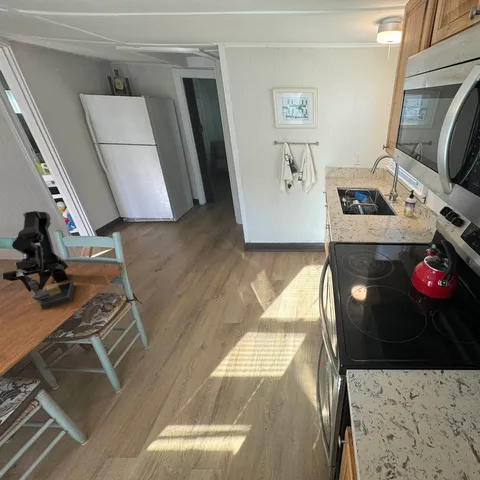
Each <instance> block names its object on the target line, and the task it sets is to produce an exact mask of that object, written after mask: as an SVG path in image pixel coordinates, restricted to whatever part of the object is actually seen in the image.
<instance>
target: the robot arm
mask: <svg viewBox="0 0 480 480" xmlns="http://www.w3.org/2000/svg"><path fill="white" fill-rule="evenodd" d="M22 214H23V218H24V221H23V229H21V230H19V231H18V233H17V236H16V238H15V239H14V241H13V242H12V244H11V247H12V248H13V249H14V250H16V251H18V252H19V253H21V254H22V255H23V258H22V259H21V261H17V262H14V265H15V269H16V270H11V271H6V272H5V271H4V272H3V273H2V274H1V280H5V281H7V282H8V281H9V282H15V281H21V282H22V283H23V285H24V287H25V288H26V290H27V292H29V293H32V290H31V287H30V285H29V284H28V282H29V281H30V279H32V280H33V278H32V277H29V276H31V275H36V274H37V275H38V277H39V279H38V283H39V286H40V289H43V290H44V288H45V286H46V284H47V282H48V281H49V279H50V278H52V281H51V282H52V283H51V285H53V284H56V283H57V284H59V283H61V282H65V281H68V280H69V278H70V275H71V274H70V273H66V272H67V271H66V270H67V269H68V268H69V266H68V264H67V263H66V261H65V260H63V258H61V256H59V255H57V253H56V252H55V249H54V246H53V245H54V244H53V242H52V237H51V234H50V231H49V228H50V226H51V220H52V217H51V215H50V213H49V212H46V211H38V210H33V211H26V212H24V213H22ZM19 270H20V271H19Z"/></svg>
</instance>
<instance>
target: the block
mask: <svg viewBox="0 0 480 480" xmlns="http://www.w3.org/2000/svg"><path fill="white" fill-rule="evenodd" d="M58 285H59V283H54V284H50V285H47V286H46V285H45V286H46V288H47V290H49V295H50V296H53V295H56V294H59V293H61V289H60V287H59V286H58ZM46 288H45V289H46Z"/></svg>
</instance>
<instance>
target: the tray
mask: <svg viewBox="0 0 480 480" xmlns="http://www.w3.org/2000/svg"><path fill="white" fill-rule="evenodd" d="M58 286H59V287H60V289H61V293H59V294H56V295H53V296H51V297H52V298H51V299H50V300H49V301H47V302H45V303H42V304H39V306H40V307H41V309H42V310H44V309H49V308H52V307H56V306H59V305H62V304H66V303H68V302H72V298H73V293H74V288H75V284H74V282H73V281H67V282H65V283H60V284H58ZM45 290H47V288H45ZM49 296H50V295H49Z"/></svg>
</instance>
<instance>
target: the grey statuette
mask: <svg viewBox="0 0 480 480" xmlns="http://www.w3.org/2000/svg"><path fill="white" fill-rule="evenodd" d="M28 284H29V285H30V287H31V291H32V292H33V294H32V295H31V296H30V298H31V299H33V300H34V301H35V304H36V305H40V304H42V303H45V302H47V301H49V300H50V299H51V298H52V297H51V296H49V290H46V289H44V288H43V289H40V286H39V280H37V279H33V278H32V279H30V281H29V282H28Z"/></svg>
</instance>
